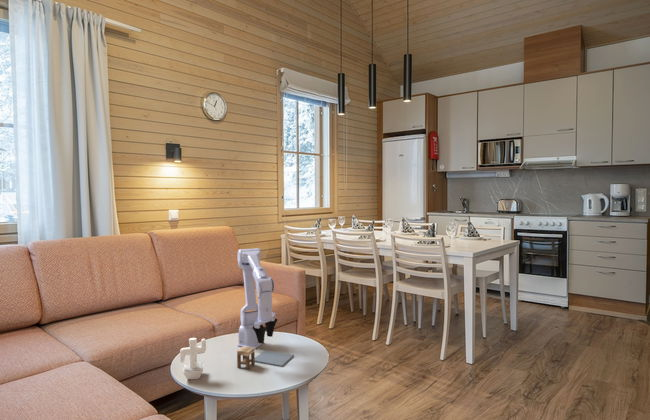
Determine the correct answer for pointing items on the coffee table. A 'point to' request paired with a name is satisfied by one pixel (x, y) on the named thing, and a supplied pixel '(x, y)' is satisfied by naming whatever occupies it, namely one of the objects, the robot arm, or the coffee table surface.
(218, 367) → the coffee table surface
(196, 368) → the figurine
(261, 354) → the slate mat
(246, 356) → the stool
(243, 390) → the coffee table surface
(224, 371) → the coffee table surface
